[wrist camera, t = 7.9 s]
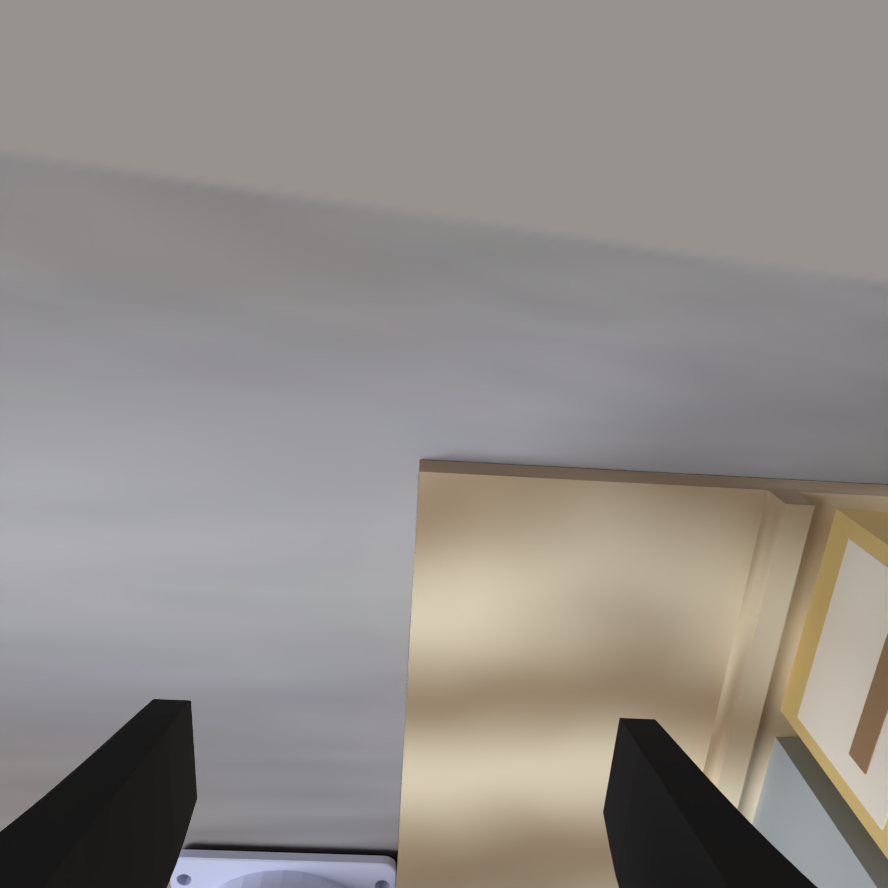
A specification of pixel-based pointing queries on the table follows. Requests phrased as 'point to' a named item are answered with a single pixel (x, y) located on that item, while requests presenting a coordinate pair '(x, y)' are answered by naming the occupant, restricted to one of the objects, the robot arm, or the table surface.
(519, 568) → the beige divided tray
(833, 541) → the ochre carton
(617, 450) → the table surface
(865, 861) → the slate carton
